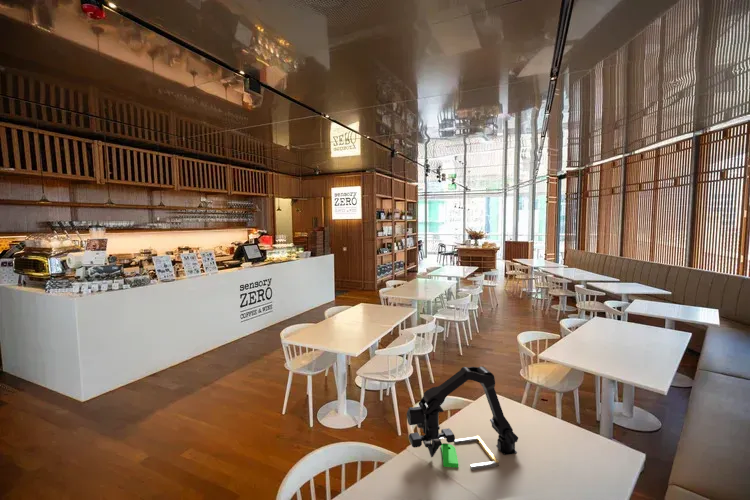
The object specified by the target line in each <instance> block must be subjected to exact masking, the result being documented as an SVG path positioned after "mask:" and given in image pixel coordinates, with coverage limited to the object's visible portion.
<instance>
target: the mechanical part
mask: <svg viewBox="0 0 750 500" xmlns="http://www.w3.org/2000/svg"><path fill="white" fill-rule="evenodd" d="M440 448H441V449H440V450H441V457H442V465H443V467H444V468H445V467H446V468H459V459H458V455H457V450H456V447H455V446H454V445H453V444H451V443H448V442H446V443H445V442H444V443H443V442H442V445H441V446H440Z"/></svg>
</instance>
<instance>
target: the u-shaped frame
mask: <svg viewBox="0 0 750 500" xmlns="http://www.w3.org/2000/svg"><path fill="white" fill-rule="evenodd" d="M473 442H477V443H478V444H479V446H480V447H481V448H482V450H483V451H484V452H485V454H486V455H487V456H488V458H489V459H490V460H491V461H486V462H478V463H472V464H471V463H470V465H469V466H470V470H471V471H474V470H482V469H488V468H494V467H499V464H500V461H499V460H498V459H497V457H496V456H495V455H494V454H493V452H491V450H490V449H489V447H488V446H487V445H486V444H485V442H484V441H483V440H482V438H481V437H480V436H479V435H476V436H472V437H471V436H470V437H464V438H457V439H455V442H453V443H454V444H455V445H459V444H467V443H473Z"/></svg>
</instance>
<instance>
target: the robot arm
mask: <svg viewBox="0 0 750 500" xmlns="http://www.w3.org/2000/svg"><path fill="white" fill-rule="evenodd" d="M467 381H473V382H476V383H478V384H480V386H481V387H482V389H483V391H484V394H485V396H486V399H487V402H488V406H489V408H490V411H491V414H492V418H490V419H489V421H490V423H491V428H493V430H494V431H495V432H496V433H497V434H498V438H497V444H496V445H495V446H496V447H497V449H498V450H499V452H500V453H502V455H503V456H507V455H514V454H518V452H517V450H516V443H517V442H518V440H519V437H518V436H517V434H515V432H514V430H513V428H512V426H511V424H510V422H509V421H508V420H507V418H506V417H505V414H504V412H503V409H502V406H501V404H500V401H499V398H498V394H497V392H496V388H495V387H496V378H495V375H494V374H493V373H492V372H491V371H490V370H489V369H487V368H486V367H485V366H479V367H477V366H469V367H467V366H463V367H461V368H460V370H459V371H457V372H456V373H455V374H453V375H452V376H451V377H449V378H448V379H447V380H446V381H444V382H442V383H441V384H440V385H437V386H433V387H431V388H429V389H427V390H426V391H424V392H423V396H422V398H421V399H420V400H419V402H418V406H413V407H412V406H410V407H408V409H407V411H406V420H407V423H408V426H414V425H415V426H417V428H418V429H422V432H423V435H422V434H421V435H420V434H419V432H411V433H409V434H408V440H409V442H410V445H411V447H412V448H420V447H421V446H422V445H423V444H424V447H425V448H427V449H428V452H429V455H430V457H431V458H434V456H435V455H436V453H437V451H438V449H440V448H441V445H442V444H443V442H442V440H443V439H446V440H445V441H446V443H447V444H451V443H454V442H455V438H456V436H455V433H453V431H452V430H451V429H450V428H449V427H448V428H442V429H441V430H440V428H441V427H440V424H439V421H440V420H439V419H440V417H439V415H440V414H439V413H444V409H443V407H442V405H443V403H445V400H446V398H447V397H448V396H449V395H450V394H451V393H453V392H455V391H456V390H457V389H459V387H461V386H463V384H465V383H466V382H467ZM439 430H440V432H439Z"/></svg>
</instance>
